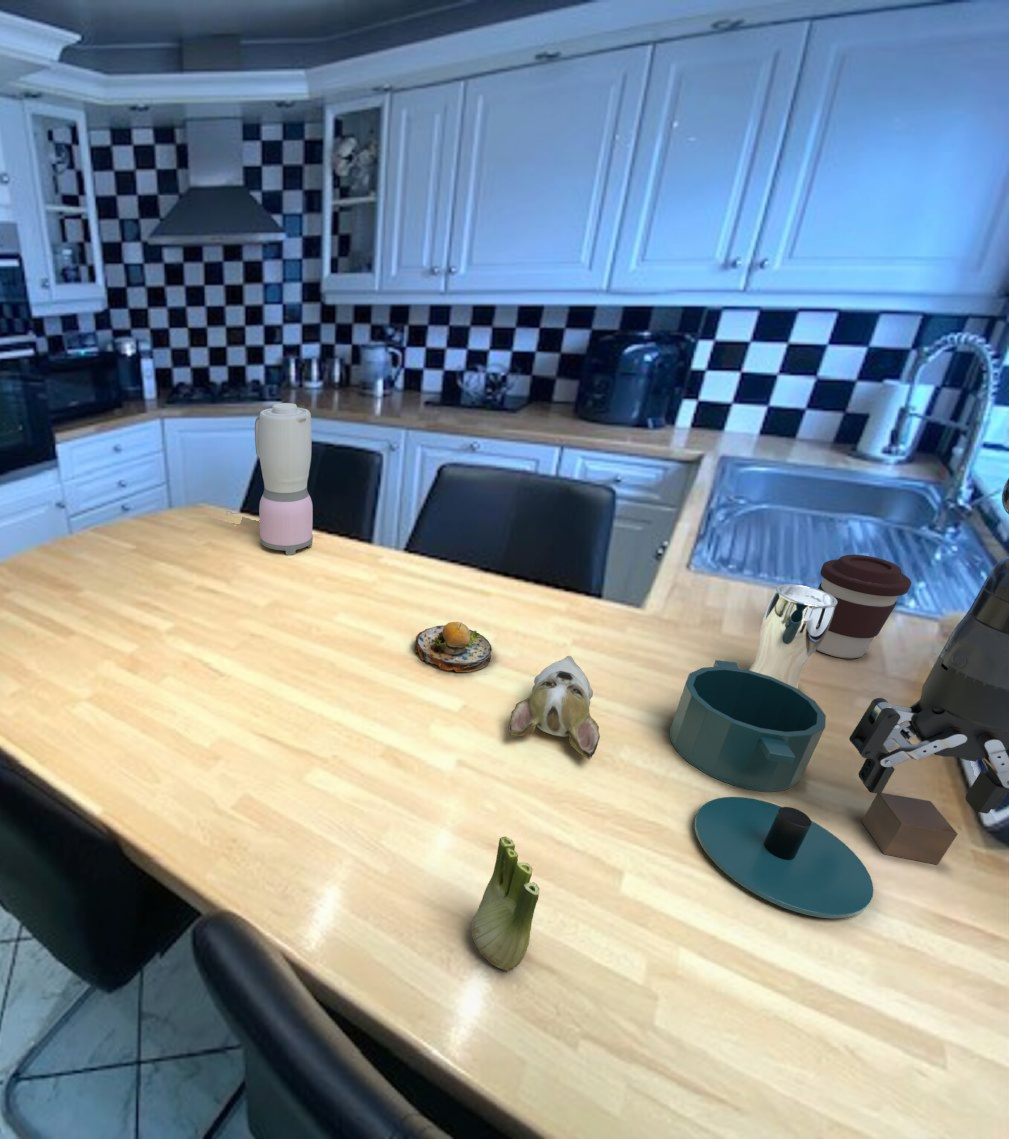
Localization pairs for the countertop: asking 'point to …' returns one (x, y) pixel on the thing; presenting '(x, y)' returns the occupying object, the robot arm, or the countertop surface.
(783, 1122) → the countertop surface
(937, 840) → the block
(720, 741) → the pot
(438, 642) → the burger
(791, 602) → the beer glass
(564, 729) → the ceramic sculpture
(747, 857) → the lid
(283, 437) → the blender
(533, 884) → the fennel bulb
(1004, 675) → the robot arm
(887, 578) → the coffee cup
